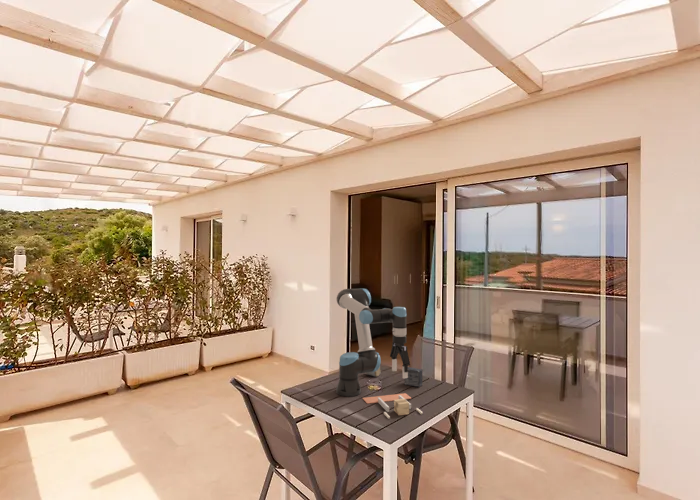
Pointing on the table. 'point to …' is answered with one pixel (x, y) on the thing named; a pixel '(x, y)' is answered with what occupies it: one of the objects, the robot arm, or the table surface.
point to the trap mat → (385, 398)
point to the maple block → (401, 407)
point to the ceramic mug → (374, 373)
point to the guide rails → (387, 405)
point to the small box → (414, 377)
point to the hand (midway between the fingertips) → (399, 374)
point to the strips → (389, 416)
